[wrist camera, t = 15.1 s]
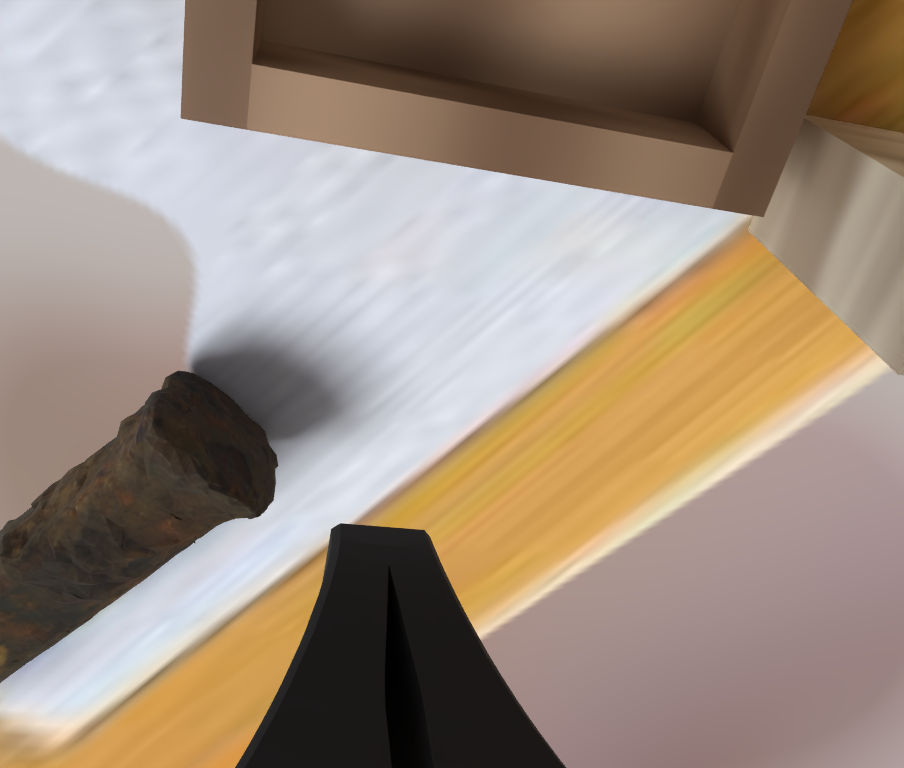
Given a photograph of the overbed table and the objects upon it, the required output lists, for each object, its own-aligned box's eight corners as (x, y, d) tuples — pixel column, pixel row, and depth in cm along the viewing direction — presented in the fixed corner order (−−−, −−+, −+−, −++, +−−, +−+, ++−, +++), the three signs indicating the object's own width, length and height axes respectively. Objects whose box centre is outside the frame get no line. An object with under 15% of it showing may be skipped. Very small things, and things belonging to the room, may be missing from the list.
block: (747, 230, 22) (898, 374, 16) (794, 112, 20) (979, 222, 14) (851, 246, 22) (1034, 391, 16) (905, 133, 21) (1127, 247, 15)
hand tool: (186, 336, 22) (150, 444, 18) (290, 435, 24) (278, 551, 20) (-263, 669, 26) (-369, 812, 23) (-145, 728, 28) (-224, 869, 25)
